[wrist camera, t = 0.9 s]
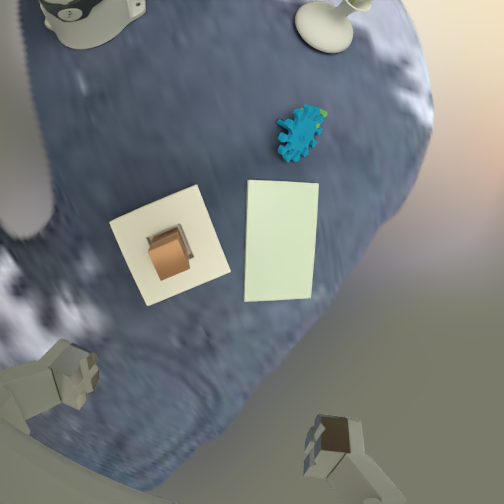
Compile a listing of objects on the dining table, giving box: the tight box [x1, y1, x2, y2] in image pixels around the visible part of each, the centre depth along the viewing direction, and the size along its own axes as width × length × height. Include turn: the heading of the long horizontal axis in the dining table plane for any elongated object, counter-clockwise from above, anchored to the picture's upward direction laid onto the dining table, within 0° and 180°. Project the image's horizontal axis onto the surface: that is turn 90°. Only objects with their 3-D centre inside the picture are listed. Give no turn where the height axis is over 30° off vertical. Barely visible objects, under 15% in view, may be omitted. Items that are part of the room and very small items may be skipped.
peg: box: [148, 227, 190, 281], centre depth 44 cm, size 4×4×11 cm
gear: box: [277, 104, 328, 162], centre depth 48 cm, size 11×6×10 cm
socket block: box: [109, 185, 231, 306], centre depth 48 cm, size 14×14×4 cm
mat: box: [243, 180, 319, 302], centre depth 54 cm, size 20×12×1 cm, turn 178°
